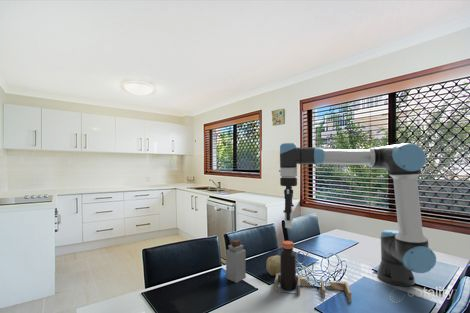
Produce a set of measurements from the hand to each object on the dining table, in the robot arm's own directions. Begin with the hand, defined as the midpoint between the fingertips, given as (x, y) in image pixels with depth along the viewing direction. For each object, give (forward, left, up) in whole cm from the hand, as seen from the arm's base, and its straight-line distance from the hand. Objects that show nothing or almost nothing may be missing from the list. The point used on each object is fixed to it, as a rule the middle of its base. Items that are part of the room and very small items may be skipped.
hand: (289, 224), depth 111 cm
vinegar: (+1, 0, -28) cm, 28 cm away
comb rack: (-9, 0, -29) cm, 30 cm away
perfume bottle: (+26, -3, -29) cm, 39 cm away
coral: (+8, -12, -29) cm, 32 cm away
